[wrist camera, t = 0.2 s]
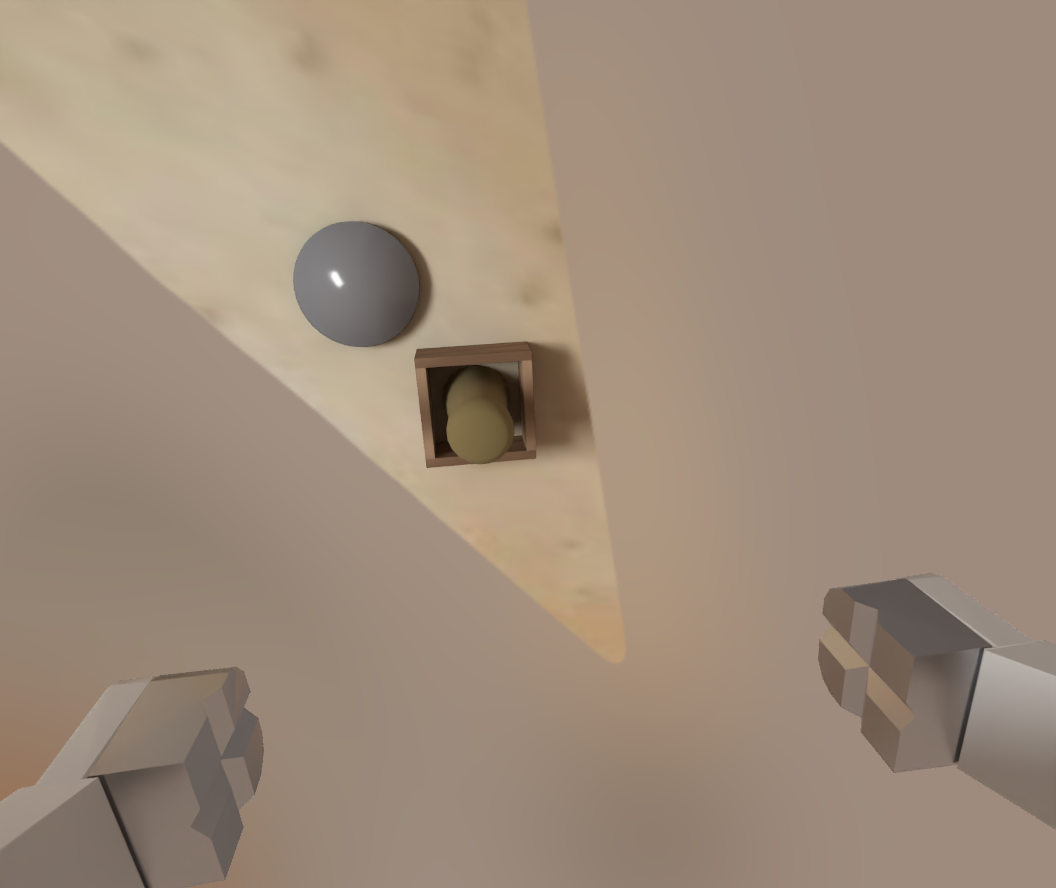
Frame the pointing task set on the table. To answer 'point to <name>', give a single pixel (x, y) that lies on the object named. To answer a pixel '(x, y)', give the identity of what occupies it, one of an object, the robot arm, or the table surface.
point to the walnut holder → (470, 355)
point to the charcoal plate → (356, 284)
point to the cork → (478, 414)
